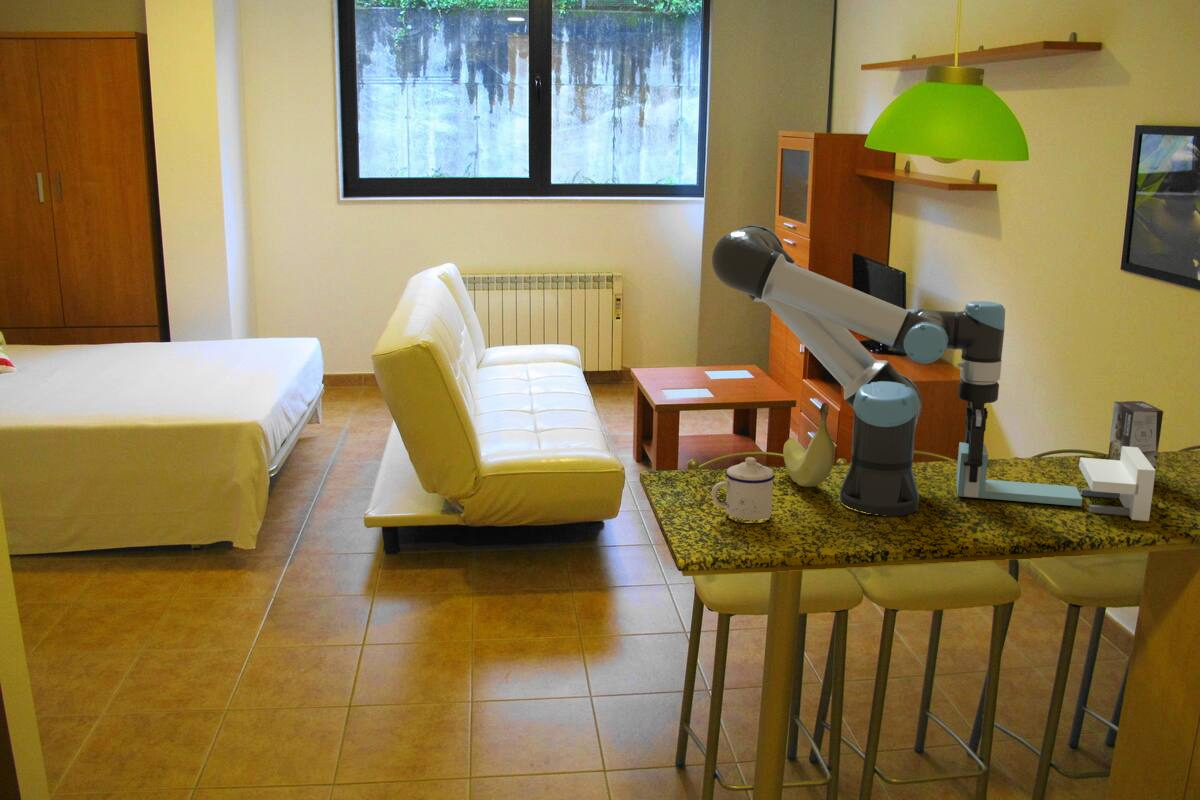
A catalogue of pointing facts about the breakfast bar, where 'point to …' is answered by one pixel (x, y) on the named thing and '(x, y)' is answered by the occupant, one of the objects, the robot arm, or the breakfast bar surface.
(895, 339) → the robot arm
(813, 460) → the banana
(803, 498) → the breakfast bar surface
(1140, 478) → the shelf
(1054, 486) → the light blue l-bracket
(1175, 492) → the breakfast bar surface
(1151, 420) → the coffee box
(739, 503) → the teacup with lid
